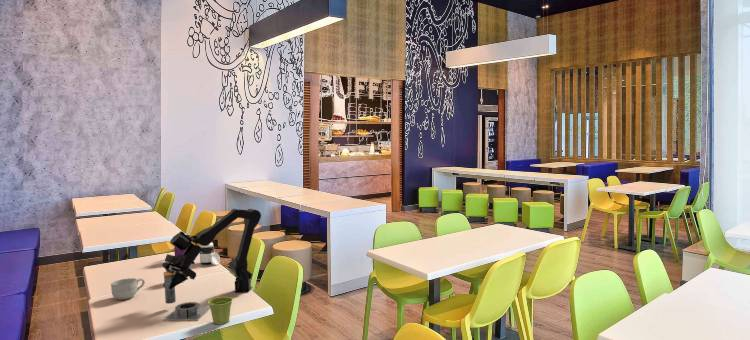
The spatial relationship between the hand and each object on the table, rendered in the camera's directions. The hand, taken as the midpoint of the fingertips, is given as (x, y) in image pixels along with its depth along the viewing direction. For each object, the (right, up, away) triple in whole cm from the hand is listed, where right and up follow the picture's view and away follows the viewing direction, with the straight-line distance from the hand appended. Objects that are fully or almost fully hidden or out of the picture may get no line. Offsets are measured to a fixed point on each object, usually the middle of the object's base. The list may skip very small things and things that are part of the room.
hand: (166, 287), depth 201 cm
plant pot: (+28, -11, -13) cm, 32 cm away
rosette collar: (+11, -10, -4) cm, 15 cm away
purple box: (-27, -4, +83) cm, 87 cm away
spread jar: (-7, -5, +73) cm, 74 cm away
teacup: (-25, -9, +18) cm, 32 cm away
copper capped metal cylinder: (+1, -6, +2) cm, 7 cm away
